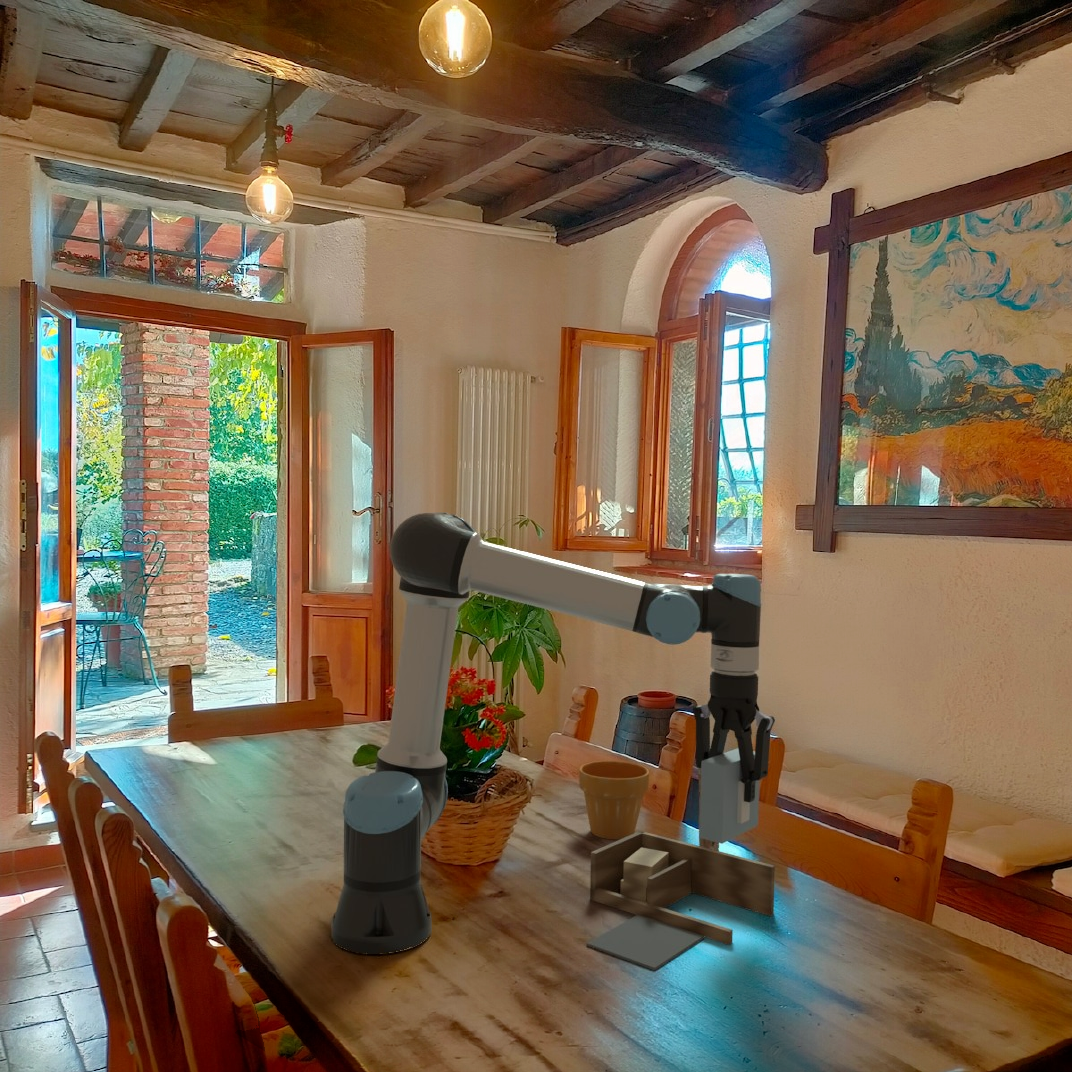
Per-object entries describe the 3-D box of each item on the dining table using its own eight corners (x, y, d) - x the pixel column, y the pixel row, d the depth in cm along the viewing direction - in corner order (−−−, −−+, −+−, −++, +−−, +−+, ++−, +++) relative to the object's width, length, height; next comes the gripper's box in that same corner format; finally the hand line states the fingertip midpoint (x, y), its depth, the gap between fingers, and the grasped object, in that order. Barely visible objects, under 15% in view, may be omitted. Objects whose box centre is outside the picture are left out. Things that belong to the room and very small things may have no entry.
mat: (586, 945, 145) (586, 943, 145) (638, 916, 156) (638, 914, 156) (654, 970, 137) (654, 967, 137) (704, 938, 148) (704, 935, 148)
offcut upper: (623, 882, 162) (623, 861, 162) (641, 867, 169) (641, 847, 169) (651, 887, 160) (651, 866, 160) (668, 872, 167) (668, 852, 167)
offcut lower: (620, 900, 163) (620, 880, 163) (646, 887, 169) (646, 867, 169) (645, 908, 160) (645, 887, 160) (670, 894, 166) (671, 874, 166)
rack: (590, 899, 163) (590, 852, 162) (639, 874, 174) (640, 830, 174) (729, 945, 146) (730, 892, 146) (773, 914, 158) (774, 865, 157)
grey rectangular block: (699, 837, 151) (701, 760, 150) (735, 820, 160) (738, 748, 160) (722, 843, 148) (724, 765, 148) (758, 825, 157) (760, 752, 157)
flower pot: (647, 823, 204) (648, 762, 203) (648, 846, 190) (649, 780, 189) (580, 820, 205) (581, 759, 205) (576, 842, 191) (577, 777, 191)
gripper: (675, 667, 156) (671, 811, 157) (773, 681, 145) (768, 835, 146) (698, 662, 162) (694, 801, 162) (795, 675, 151) (790, 824, 151)
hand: (729, 817), depth 154 cm, fingers closed on grey rectangular block, 4 cm apart
